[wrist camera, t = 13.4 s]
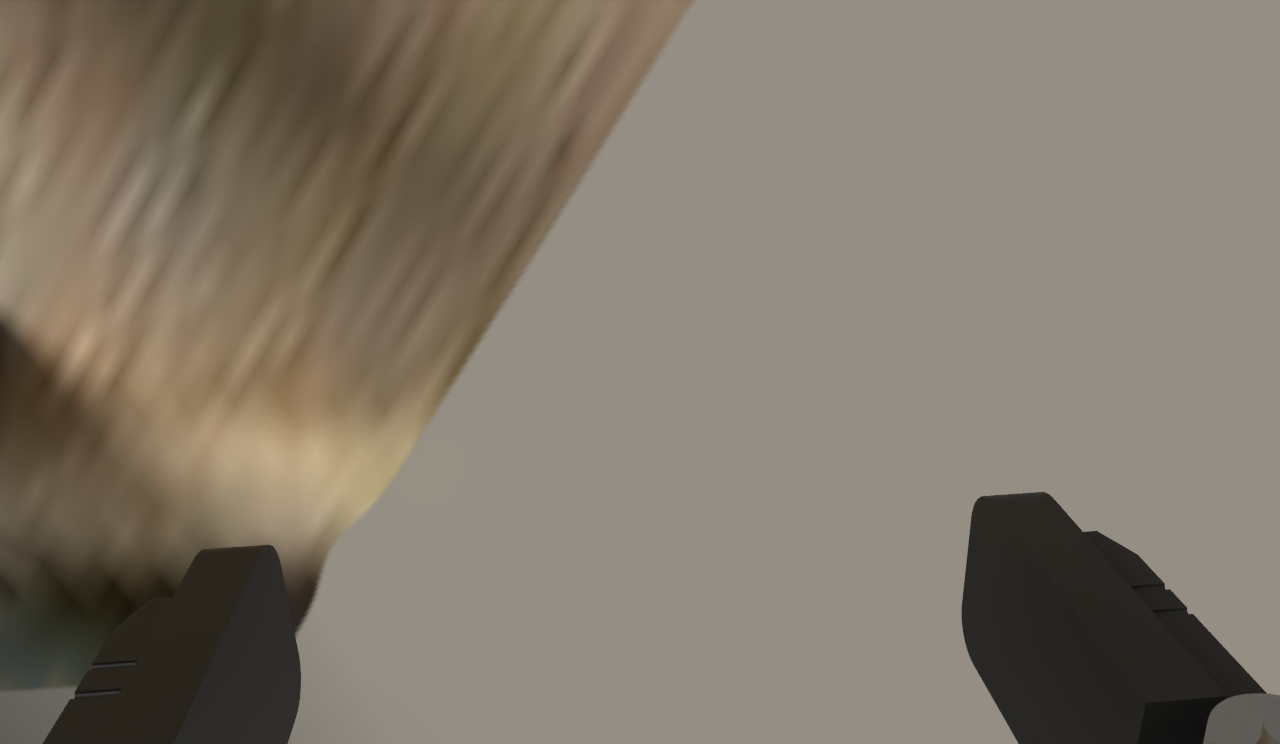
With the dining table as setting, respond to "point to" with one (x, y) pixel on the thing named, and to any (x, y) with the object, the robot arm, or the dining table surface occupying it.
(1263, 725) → the robot arm
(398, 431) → the dining table surface
